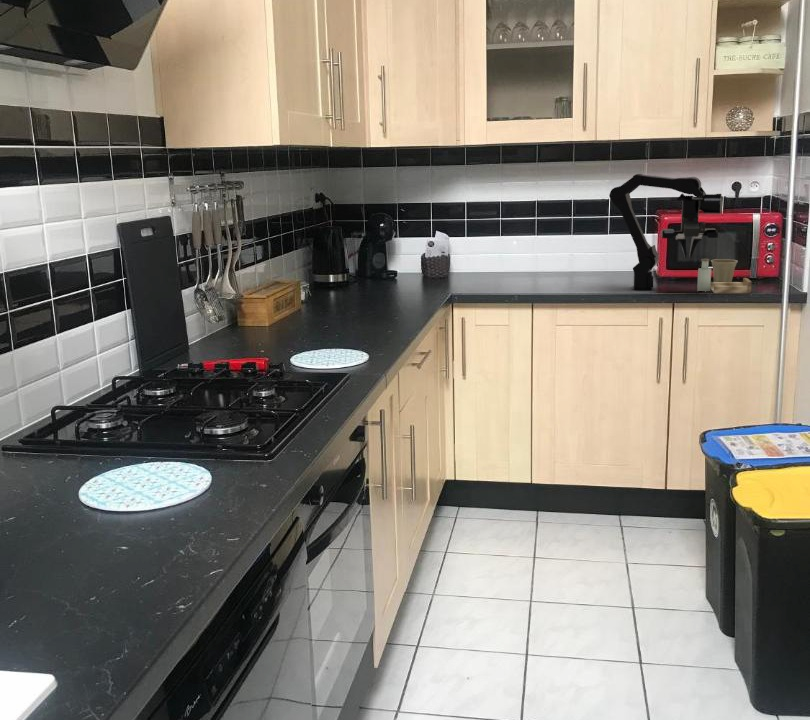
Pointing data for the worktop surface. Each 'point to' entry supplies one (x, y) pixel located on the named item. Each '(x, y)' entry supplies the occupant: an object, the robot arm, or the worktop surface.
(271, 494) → the worktop surface
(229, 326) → the worktop surface
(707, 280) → the bottle
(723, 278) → the flower pot
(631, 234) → the robot arm
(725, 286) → the cradle
